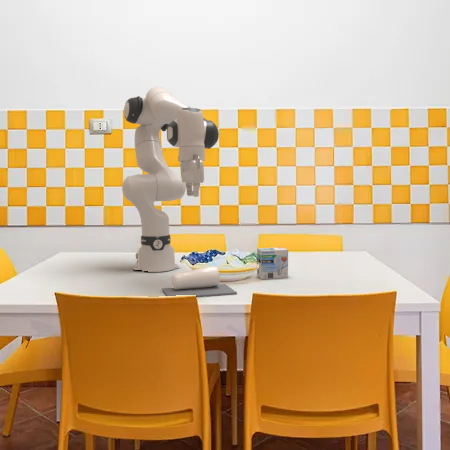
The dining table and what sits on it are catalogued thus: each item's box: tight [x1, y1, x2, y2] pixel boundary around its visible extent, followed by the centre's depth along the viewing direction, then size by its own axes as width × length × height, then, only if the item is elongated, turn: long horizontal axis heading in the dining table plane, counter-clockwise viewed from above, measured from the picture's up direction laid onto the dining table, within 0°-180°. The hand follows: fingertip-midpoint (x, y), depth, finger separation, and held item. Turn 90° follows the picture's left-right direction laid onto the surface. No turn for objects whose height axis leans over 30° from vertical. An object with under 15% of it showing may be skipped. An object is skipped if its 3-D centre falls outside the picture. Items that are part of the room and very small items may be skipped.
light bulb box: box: [256, 246, 289, 280], centre depth 195 cm, size 11×7×11 cm, turn 101°
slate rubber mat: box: [161, 283, 238, 298], centre depth 171 cm, size 14×22×1 cm, turn 106°
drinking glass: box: [171, 265, 221, 290], centre depth 174 cm, size 7×7×15 cm
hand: (192, 196), depth 179 cm, fingers open, 8 cm apart
